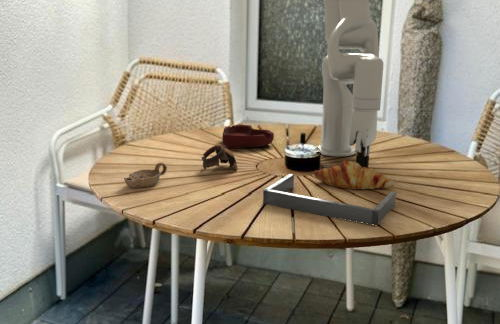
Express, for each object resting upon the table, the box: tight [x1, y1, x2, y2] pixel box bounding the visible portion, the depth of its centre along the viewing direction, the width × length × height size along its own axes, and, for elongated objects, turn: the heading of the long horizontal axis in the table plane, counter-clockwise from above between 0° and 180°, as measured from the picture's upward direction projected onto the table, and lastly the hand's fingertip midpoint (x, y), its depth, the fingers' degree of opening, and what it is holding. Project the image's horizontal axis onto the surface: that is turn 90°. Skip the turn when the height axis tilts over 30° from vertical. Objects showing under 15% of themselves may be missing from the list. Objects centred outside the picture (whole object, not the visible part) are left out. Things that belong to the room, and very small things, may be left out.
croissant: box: [313, 160, 394, 190], centre depth 158 cm, size 21×10×8 cm, turn 75°
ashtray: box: [221, 123, 275, 150], centre depth 197 cm, size 18×16×5 cm
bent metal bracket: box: [262, 173, 397, 226], centre depth 143 cm, size 15×28×4 cm, turn 61°
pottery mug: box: [201, 144, 239, 172], centre depth 171 cm, size 12×10×8 cm
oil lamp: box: [123, 162, 168, 189], centre depth 156 cm, size 13×8×5 cm, turn 133°
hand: (361, 168), depth 163 cm, fingers closed
